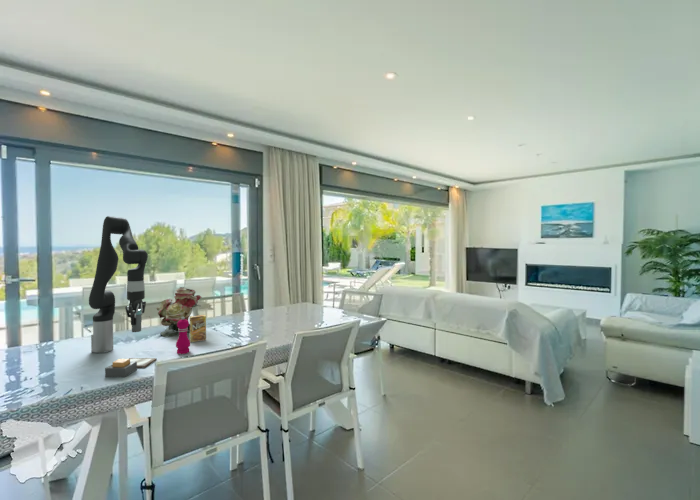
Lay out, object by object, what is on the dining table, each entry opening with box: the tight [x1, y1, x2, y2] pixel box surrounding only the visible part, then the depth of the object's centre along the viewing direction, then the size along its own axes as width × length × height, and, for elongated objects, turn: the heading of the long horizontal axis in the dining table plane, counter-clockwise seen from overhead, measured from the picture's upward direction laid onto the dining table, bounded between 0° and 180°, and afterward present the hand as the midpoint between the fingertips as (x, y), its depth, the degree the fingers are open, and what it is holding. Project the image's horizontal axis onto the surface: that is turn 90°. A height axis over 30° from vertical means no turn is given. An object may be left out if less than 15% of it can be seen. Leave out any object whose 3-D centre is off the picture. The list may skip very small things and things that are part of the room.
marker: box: [131, 311, 142, 333], centre depth 175 cm, size 4×4×10 cm
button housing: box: [104, 361, 138, 378], centre depth 164 cm, size 9×9×4 cm
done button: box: [111, 358, 130, 367], centre depth 164 cm, size 5×5×4 cm
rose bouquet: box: [156, 286, 205, 338], centre depth 235 cm, size 26×29×30 cm
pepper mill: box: [175, 317, 191, 355], centre depth 194 cm, size 7×7×20 cm
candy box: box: [189, 314, 207, 343], centre depth 216 cm, size 9×4×15 cm, turn 125°
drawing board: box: [128, 357, 157, 369], centre depth 176 cm, size 14×11×1 cm
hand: (136, 323), depth 175 cm, fingers closed on marker, 4 cm apart
